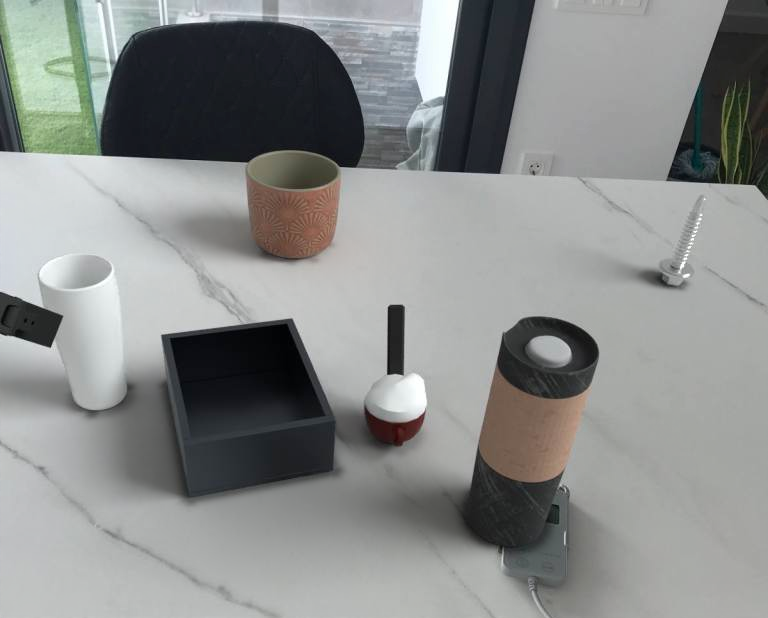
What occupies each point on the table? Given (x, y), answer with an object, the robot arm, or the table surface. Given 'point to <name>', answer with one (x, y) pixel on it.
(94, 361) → the white cup
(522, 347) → the travel mug
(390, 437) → the cocoa
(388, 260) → the table surface
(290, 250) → the planter
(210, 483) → the dark storage bin
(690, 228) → the screw
